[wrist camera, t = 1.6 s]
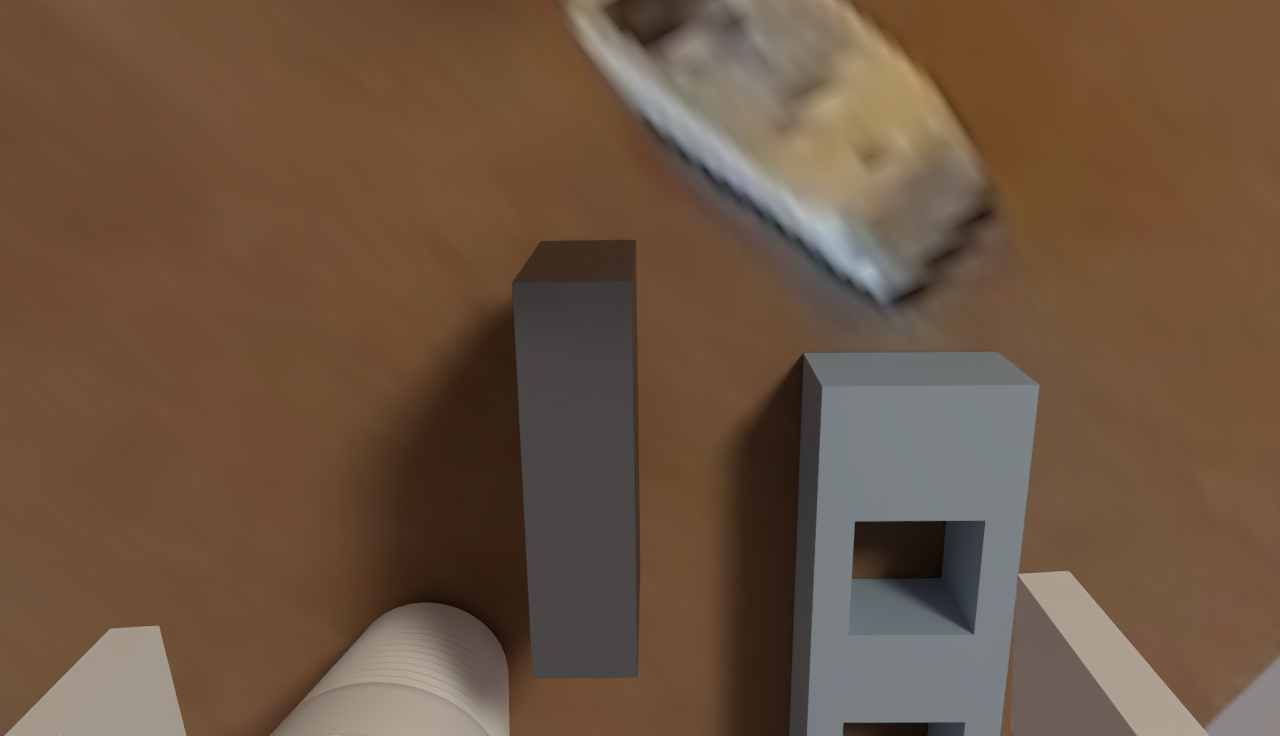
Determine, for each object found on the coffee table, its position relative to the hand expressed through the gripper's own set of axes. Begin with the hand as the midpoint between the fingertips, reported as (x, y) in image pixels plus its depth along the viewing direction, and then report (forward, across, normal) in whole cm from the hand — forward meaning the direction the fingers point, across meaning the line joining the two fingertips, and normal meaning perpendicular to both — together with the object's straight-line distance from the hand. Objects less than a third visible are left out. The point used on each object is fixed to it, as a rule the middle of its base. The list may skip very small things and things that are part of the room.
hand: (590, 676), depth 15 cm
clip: (+21, -1, -2) cm, 21 cm away
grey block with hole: (+21, +9, -12) cm, 26 cm away
